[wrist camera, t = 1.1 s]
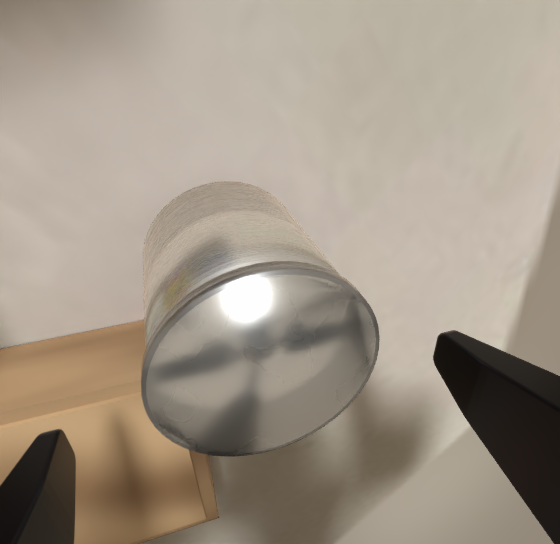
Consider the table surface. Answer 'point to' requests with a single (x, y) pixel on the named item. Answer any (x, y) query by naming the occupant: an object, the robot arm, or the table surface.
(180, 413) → the tin
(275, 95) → the table surface
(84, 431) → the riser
